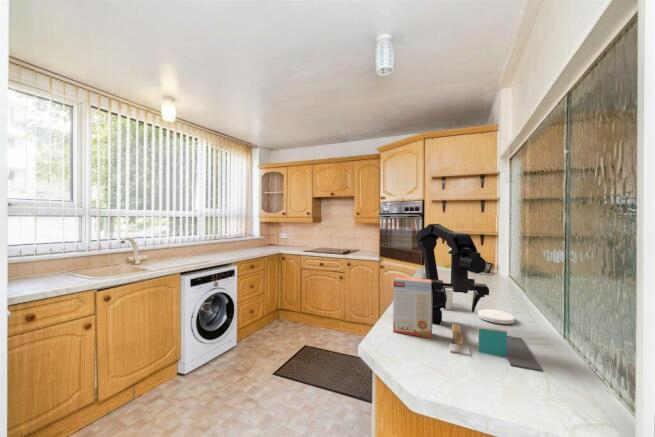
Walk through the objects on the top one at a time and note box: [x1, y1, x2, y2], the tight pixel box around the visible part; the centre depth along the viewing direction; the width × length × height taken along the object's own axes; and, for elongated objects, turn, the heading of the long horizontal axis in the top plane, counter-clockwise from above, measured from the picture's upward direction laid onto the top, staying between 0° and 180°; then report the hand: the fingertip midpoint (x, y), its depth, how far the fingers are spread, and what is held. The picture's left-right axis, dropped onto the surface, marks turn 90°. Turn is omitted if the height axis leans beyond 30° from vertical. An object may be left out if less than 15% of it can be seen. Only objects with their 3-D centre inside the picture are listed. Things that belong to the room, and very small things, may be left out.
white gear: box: [477, 308, 516, 325], centre depth 127 cm, size 14×14×2 cm
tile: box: [477, 326, 508, 358], centre depth 95 cm, size 8×2×8 cm, turn 69°
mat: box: [506, 335, 543, 372], centre depth 97 cm, size 8×24×1 cm, turn 159°
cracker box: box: [392, 276, 433, 339], centre depth 111 cm, size 14×6×21 cm, turn 65°
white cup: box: [441, 288, 454, 311], centre depth 142 cm, size 8×8×10 cm
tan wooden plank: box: [448, 321, 471, 357], centre depth 104 cm, size 6×22×3 cm, turn 160°
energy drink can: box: [418, 271, 426, 279], centre depth 153 cm, size 6×6×15 cm
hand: (458, 310), depth 105 cm, fingers open, 9 cm apart
